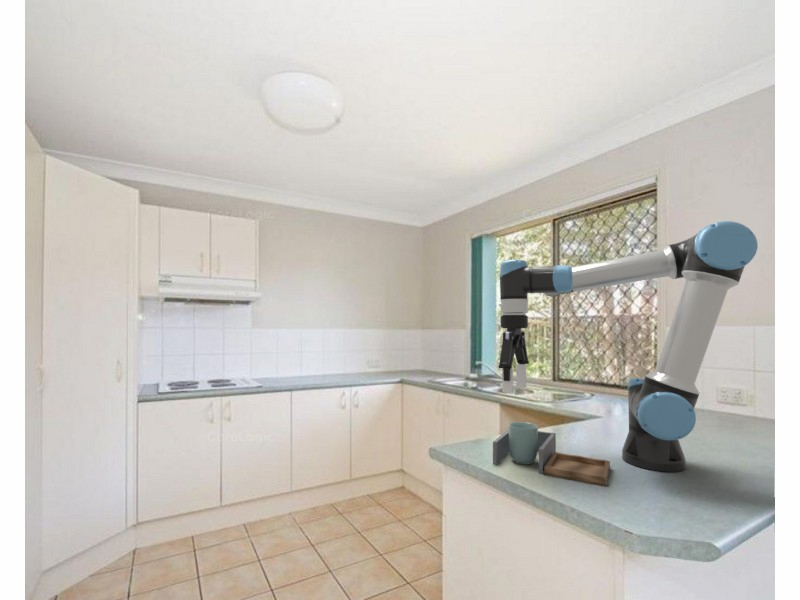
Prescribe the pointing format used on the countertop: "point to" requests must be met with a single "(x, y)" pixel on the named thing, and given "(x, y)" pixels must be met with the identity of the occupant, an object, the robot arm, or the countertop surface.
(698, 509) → the countertop surface
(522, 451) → the cup
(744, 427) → the countertop surface
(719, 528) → the countertop surface
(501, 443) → the bay
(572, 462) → the tray
